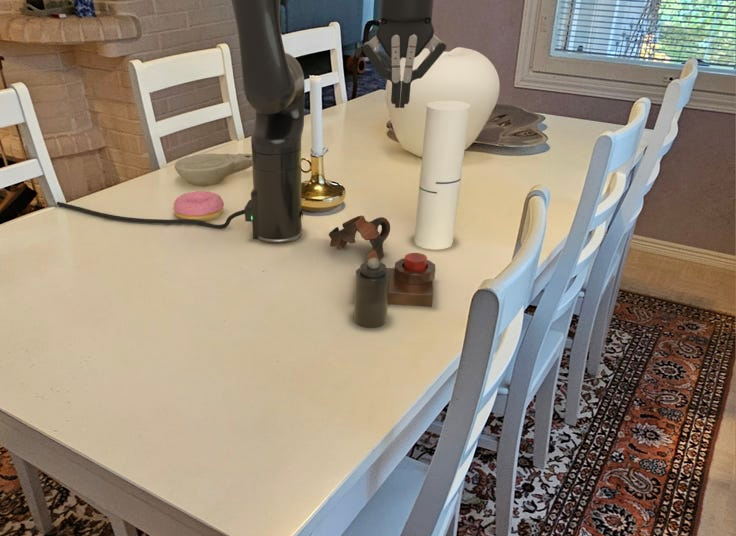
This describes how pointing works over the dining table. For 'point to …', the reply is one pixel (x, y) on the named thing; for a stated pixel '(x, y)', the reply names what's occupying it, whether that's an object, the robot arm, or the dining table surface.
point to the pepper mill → (371, 294)
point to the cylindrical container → (441, 173)
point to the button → (415, 262)
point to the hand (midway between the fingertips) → (399, 106)
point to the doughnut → (198, 206)
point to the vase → (445, 94)
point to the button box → (411, 285)
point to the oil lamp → (211, 167)
